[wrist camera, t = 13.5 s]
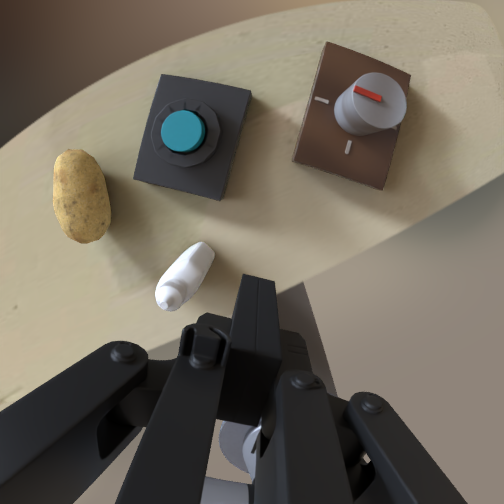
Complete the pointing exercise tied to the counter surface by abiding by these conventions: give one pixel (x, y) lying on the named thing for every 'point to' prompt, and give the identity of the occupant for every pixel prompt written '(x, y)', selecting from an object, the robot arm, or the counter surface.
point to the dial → (371, 105)
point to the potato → (80, 196)
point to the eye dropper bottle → (184, 276)
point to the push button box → (212, 147)
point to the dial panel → (330, 132)
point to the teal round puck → (183, 131)
